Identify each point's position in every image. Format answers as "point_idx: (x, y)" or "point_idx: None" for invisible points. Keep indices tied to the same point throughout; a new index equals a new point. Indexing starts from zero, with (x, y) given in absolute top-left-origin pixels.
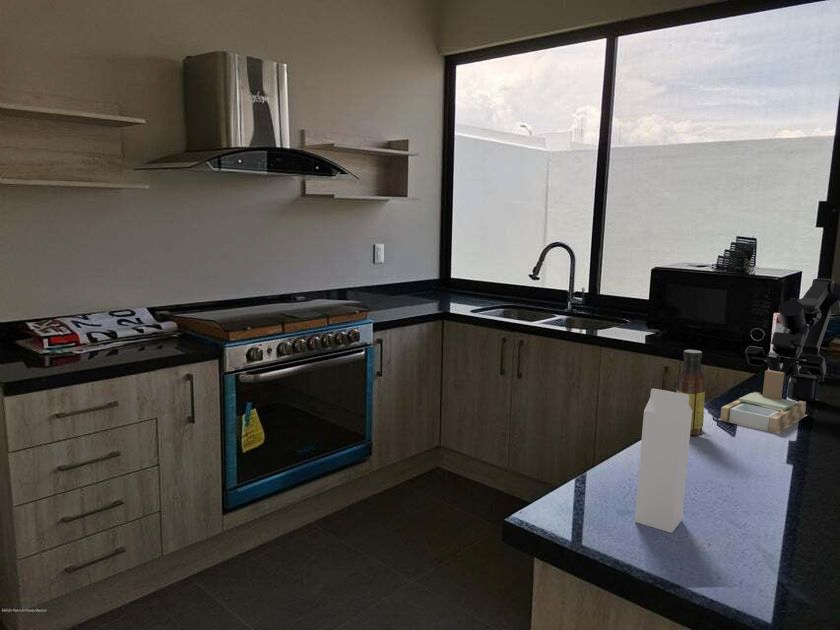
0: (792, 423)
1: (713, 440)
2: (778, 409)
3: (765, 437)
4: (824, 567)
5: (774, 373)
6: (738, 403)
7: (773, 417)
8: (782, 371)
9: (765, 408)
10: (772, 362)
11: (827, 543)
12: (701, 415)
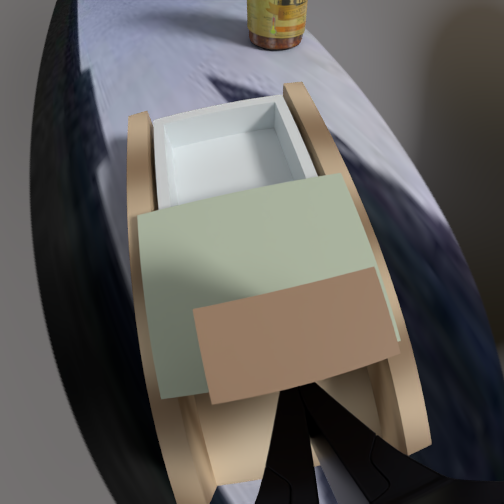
0: None
1: (219, 43)
2: None
3: None
4: (56, 9)
5: (273, 292)
6: (320, 163)
7: (139, 120)
8: (289, 487)
9: None
10: (458, 493)
11: (53, 19)
12: (247, 3)
